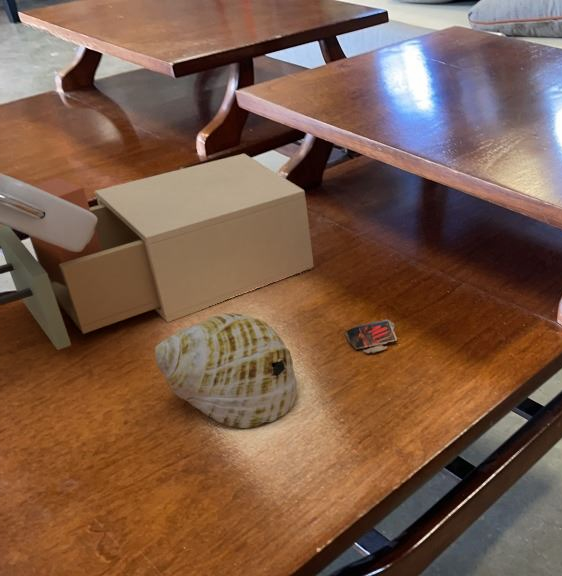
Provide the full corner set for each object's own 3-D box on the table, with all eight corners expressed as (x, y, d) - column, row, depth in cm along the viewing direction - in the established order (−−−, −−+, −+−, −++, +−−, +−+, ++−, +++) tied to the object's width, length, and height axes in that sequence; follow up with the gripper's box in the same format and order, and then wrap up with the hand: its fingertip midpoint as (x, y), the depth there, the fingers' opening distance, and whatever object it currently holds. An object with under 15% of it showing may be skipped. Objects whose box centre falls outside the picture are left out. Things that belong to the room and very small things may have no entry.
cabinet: (167, 322, 75) (145, 237, 70) (116, 270, 83) (94, 190, 78) (314, 268, 85) (304, 190, 80) (256, 226, 93) (244, 153, 88)
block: (70, 288, 72) (42, 202, 67) (44, 277, 73) (15, 192, 68) (108, 271, 75) (83, 186, 70) (82, 260, 76) (56, 177, 71)
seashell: (321, 403, 64) (250, 332, 58) (224, 468, 64) (140, 405, 57) (296, 335, 72) (231, 265, 65) (209, 392, 71) (133, 328, 64)
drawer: (4, 369, 67) (-26, 294, 63) (-31, 311, 74) (-60, 241, 70) (219, 292, 79) (205, 225, 75) (170, 248, 86) (155, 185, 82)
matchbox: (340, 334, 74) (340, 330, 74) (387, 318, 77) (387, 314, 77) (361, 358, 71) (361, 354, 71) (410, 340, 74) (409, 336, 73)
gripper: (16, 156, 56) (157, 225, 68) (-128, 106, 64) (21, 175, 76) (-26, 234, 55) (125, 289, 67) (-167, 172, 63) (-9, 231, 75)
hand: (68, 228), depth 72 cm, fingers closed on block, 4 cm apart
